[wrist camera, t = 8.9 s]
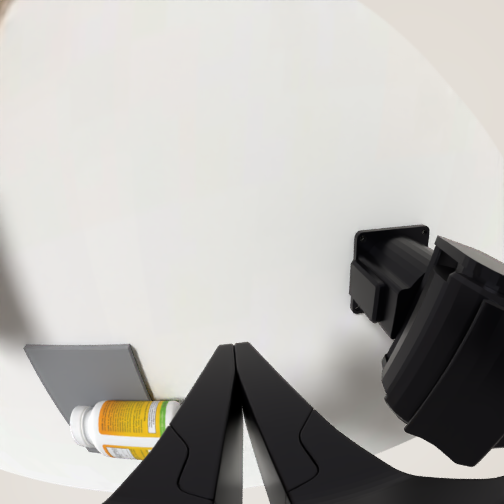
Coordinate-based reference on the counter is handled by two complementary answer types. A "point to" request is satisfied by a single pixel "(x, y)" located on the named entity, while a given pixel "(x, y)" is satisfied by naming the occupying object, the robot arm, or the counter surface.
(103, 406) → the supplement bottle
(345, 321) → the counter surface
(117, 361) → the charcoal mat
